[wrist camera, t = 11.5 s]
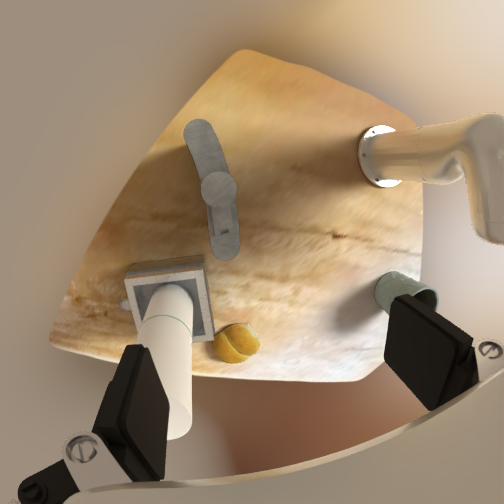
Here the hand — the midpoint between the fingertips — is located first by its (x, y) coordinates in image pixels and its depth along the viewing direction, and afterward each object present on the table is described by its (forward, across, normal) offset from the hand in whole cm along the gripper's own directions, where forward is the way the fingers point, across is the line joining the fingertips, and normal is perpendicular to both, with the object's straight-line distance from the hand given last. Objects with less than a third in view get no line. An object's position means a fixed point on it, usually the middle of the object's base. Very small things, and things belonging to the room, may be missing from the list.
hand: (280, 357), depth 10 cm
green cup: (+41, -34, +21) cm, 57 cm away
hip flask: (+40, +2, -5) cm, 40 cm away
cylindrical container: (+34, +11, +13) cm, 38 cm away
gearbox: (+39, +12, +13) cm, 43 cm away
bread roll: (+40, +1, +25) cm, 47 cm away
